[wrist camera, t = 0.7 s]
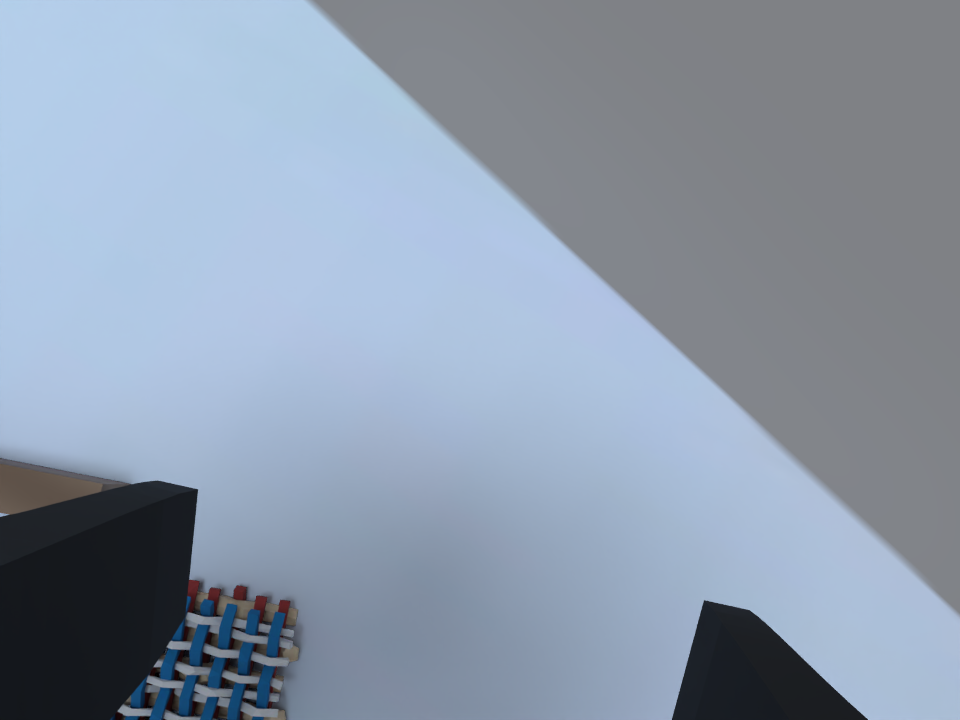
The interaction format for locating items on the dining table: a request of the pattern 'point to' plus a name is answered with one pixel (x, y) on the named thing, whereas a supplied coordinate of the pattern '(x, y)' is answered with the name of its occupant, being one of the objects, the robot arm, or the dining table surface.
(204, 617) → the woven mat
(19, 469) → the walled channel
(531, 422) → the dining table surface
